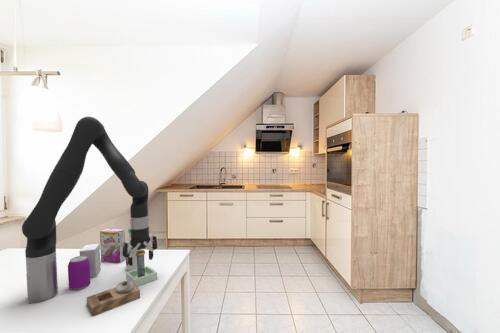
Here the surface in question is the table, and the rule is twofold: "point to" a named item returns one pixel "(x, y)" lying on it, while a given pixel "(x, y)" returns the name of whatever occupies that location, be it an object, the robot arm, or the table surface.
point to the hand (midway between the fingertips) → (140, 262)
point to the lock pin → (140, 263)
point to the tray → (149, 276)
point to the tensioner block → (113, 297)
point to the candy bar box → (112, 245)
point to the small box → (92, 258)
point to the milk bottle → (134, 257)
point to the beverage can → (78, 272)
